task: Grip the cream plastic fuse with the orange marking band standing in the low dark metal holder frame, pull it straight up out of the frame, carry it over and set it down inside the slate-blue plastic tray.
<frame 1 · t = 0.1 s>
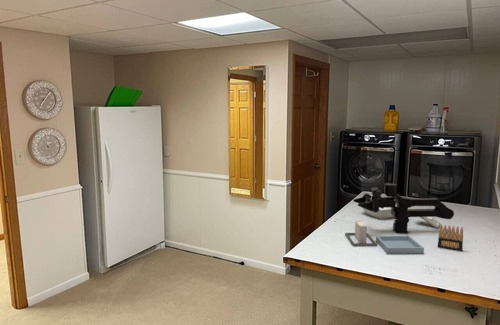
hand: (355, 202, 206), 17 cm above the table, tool horizontal, fingers open, 9 cm apart
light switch: (427, 225, 219), on the table
white bowl: (381, 215, 239), on the table
tray: (398, 247, 184), on the table
holder frame: (360, 240, 194), on the table
ammunition clip: (449, 249, 181), on the table
fuse: (360, 232, 193), in the holder frame
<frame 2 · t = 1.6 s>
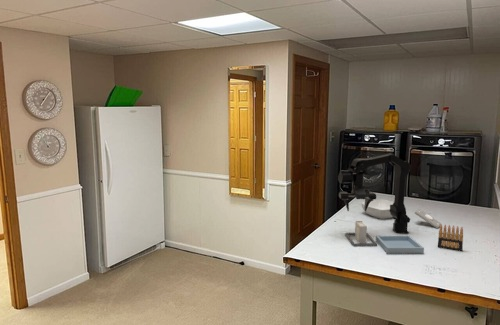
hand: (356, 211, 201), 13 cm above the table, tool pointing down, fingers open, 9 cm apart
nothing on the table moved.
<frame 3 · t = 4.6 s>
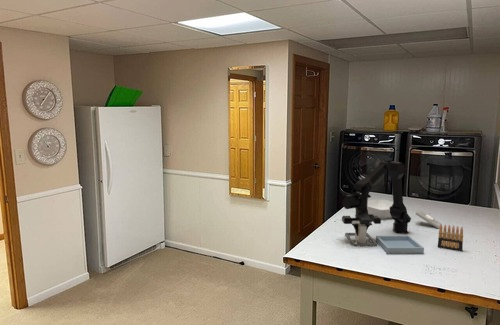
hand: (360, 235, 194), 3 cm above the table, tool pointing down, fingers closed on fuse, 3 cm apart
fuse: (360, 232, 193), in the holder frame, touching gripper
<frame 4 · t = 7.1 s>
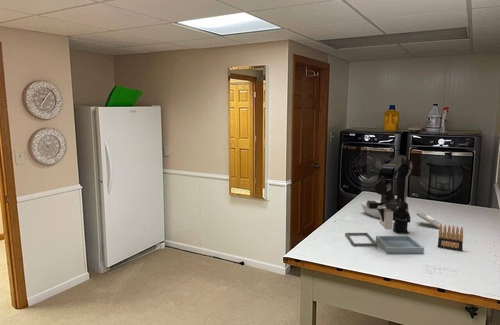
hand: (386, 221, 186), 12 cm above the table, tool pointing down, fingers closed on fuse, 3 cm apart
fuse: (386, 217, 185), point 14 cm above the table, touching gripper
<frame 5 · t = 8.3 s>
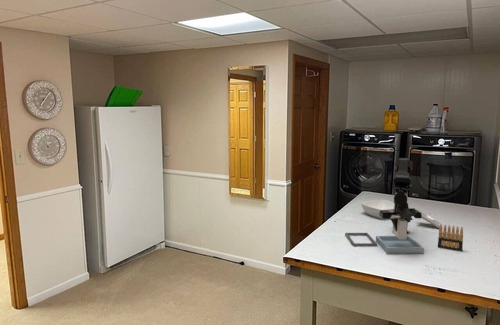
hand: (399, 231, 183), 8 cm above the table, tool pointing down, fingers closed on fuse, 3 cm apart
fuse: (399, 227, 182), point 10 cm above the table, touching gripper
when the fingers open (4 cm above the table, at t = 9.6 s): fuse drops 1 cm, resting on tray.
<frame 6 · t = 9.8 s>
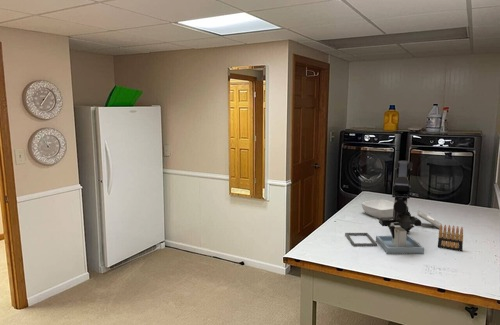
hand: (399, 238, 183), 4 cm above the table, tool pointing down, fingers open, 5 cm apart
fuse: (399, 237, 183), in the tray, point 5 cm above the table
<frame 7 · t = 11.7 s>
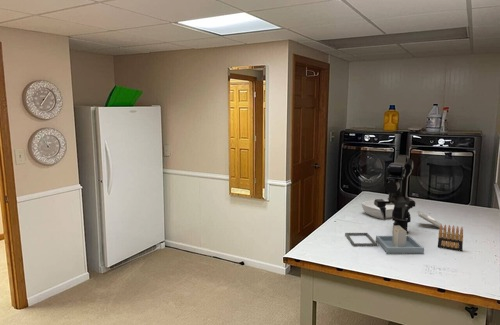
hand: (393, 219, 187), 13 cm above the table, tool pointing down, fingers open, 9 cm apart
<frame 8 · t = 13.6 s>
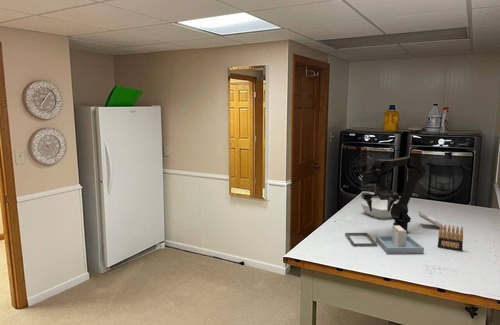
hand: (379, 211, 200), 13 cm above the table, tool pointing down, fingers open, 9 cm apart
at the end: fuse inside the target area on the tray (0.0 cm from its centre), point 5.3 cm above the tray's base; the gripper is holding nothing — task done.
